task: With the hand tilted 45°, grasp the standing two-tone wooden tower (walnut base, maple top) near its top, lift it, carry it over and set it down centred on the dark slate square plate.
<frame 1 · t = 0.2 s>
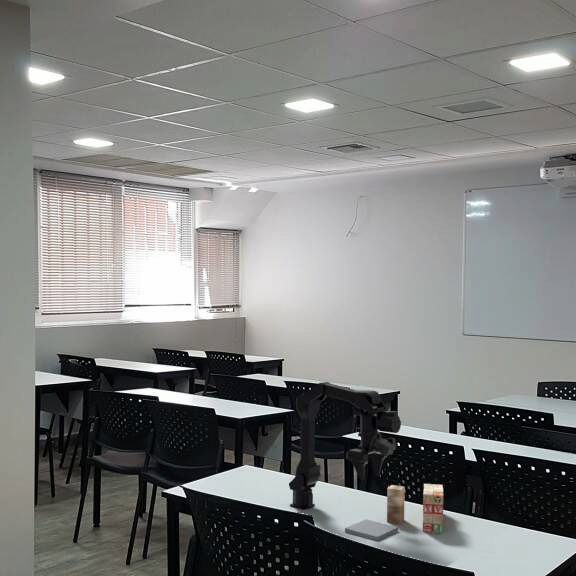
hand: (369, 477, 235), 15 cm above the table, tool pointing down, fingers open, 9 cm apart
tower: (395, 520, 238), on the table
plate: (371, 531, 227), on the table
stack of blocks: (432, 523, 237), on the table
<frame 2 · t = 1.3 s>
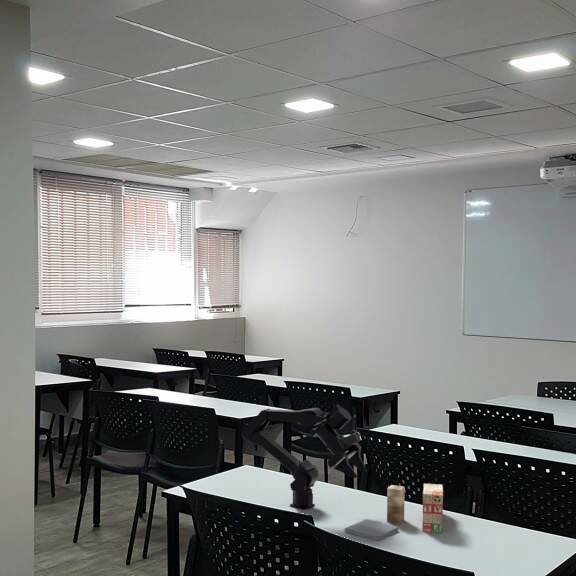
hand: (361, 474, 243), 14 cm above the table, tool tilted 45°, fingers open, 9 cm apart
nothing on the table moved.
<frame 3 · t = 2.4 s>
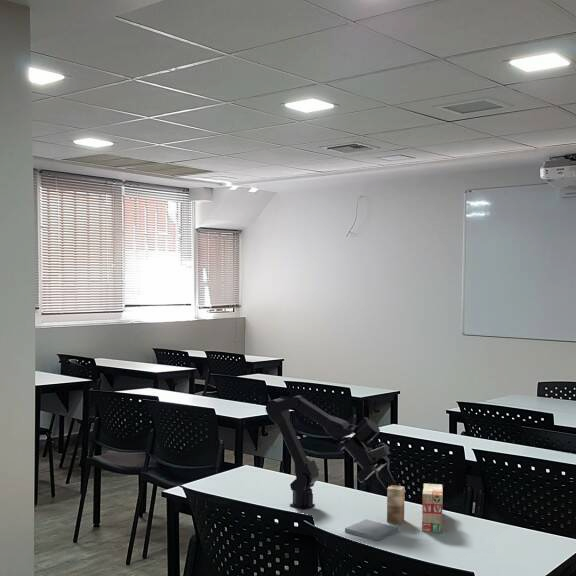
hand: (390, 488, 239), 10 cm above the table, tool tilted 45°, fingers open, 9 cm apart
nothing on the table moved.
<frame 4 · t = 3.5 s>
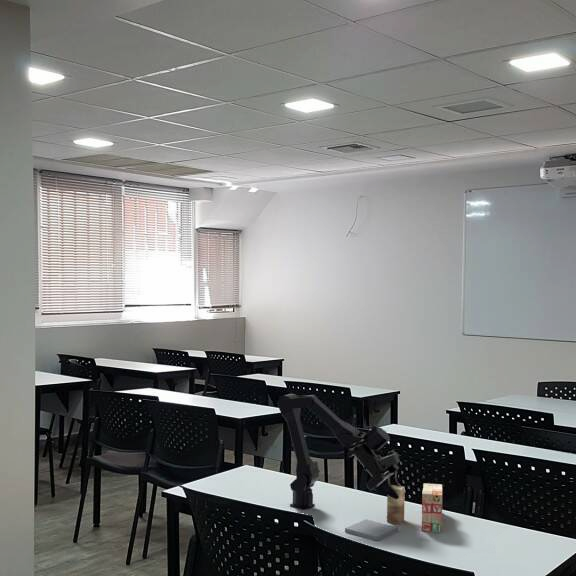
hand: (400, 496, 237), 8 cm above the table, tool tilted 45°, fingers closed on tower, 4 cm apart
tower: (395, 520, 238), on the table, touching gripper
everything else where it was.
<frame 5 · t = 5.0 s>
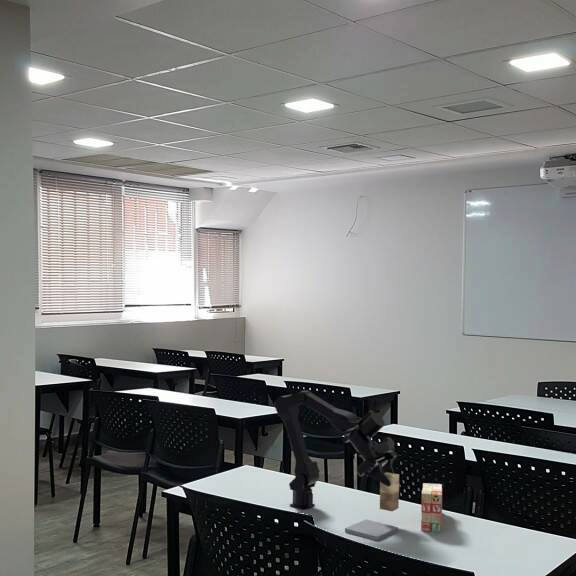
hand: (393, 484, 232), 13 cm above the table, tool tilted 45°, fingers closed on tower, 4 cm apart
tower: (389, 508, 233), point 5 cm above the table, touching gripper
everything else where it was.
when the fingers open (10 cm above the table, at t = 6.7 s): tower stays where it is, resting on plate.
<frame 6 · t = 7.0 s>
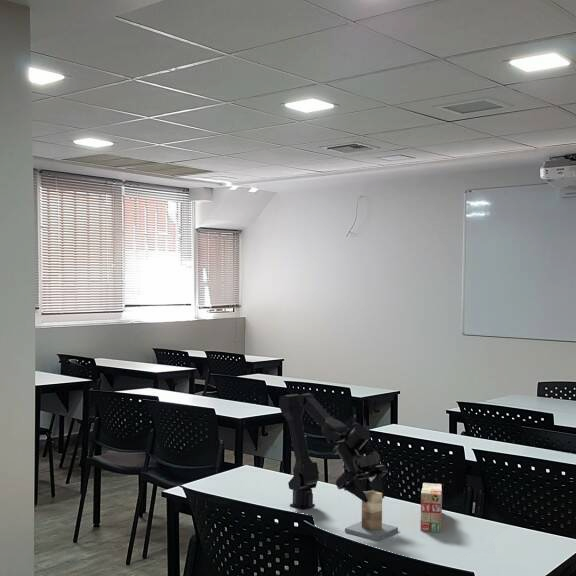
hand: (375, 499, 226), 10 cm above the table, tool tilted 45°, fingers open, 7 cm apart
tower: (371, 527, 227), point 1 cm above the table, touching plate
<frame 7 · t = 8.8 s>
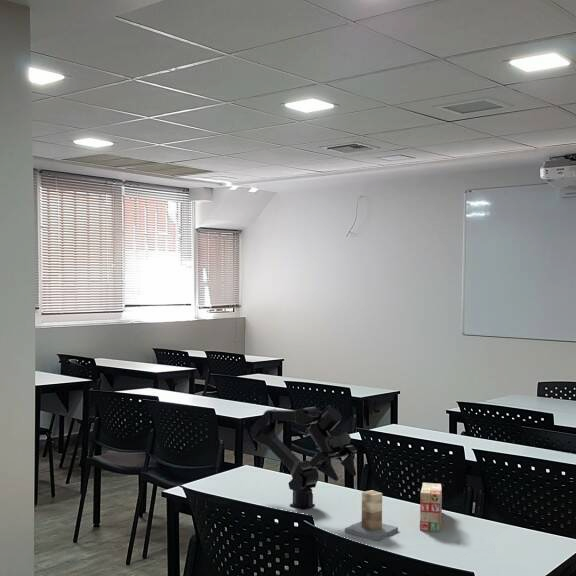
hand: (346, 478, 239), 14 cm above the table, tool tilted 45°, fingers open, 9 cm apart
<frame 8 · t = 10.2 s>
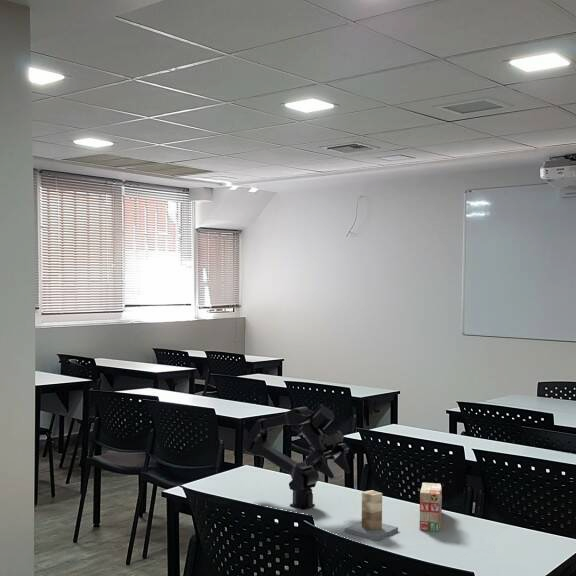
hand: (341, 475, 242), 14 cm above the table, tool tilted 45°, fingers open, 9 cm apart
at the end: tower inside the target area on the plate (0.0 cm from its centre), point 1.2 cm above the plate's base; tower tilted 0°; the gripper is holding nothing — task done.
